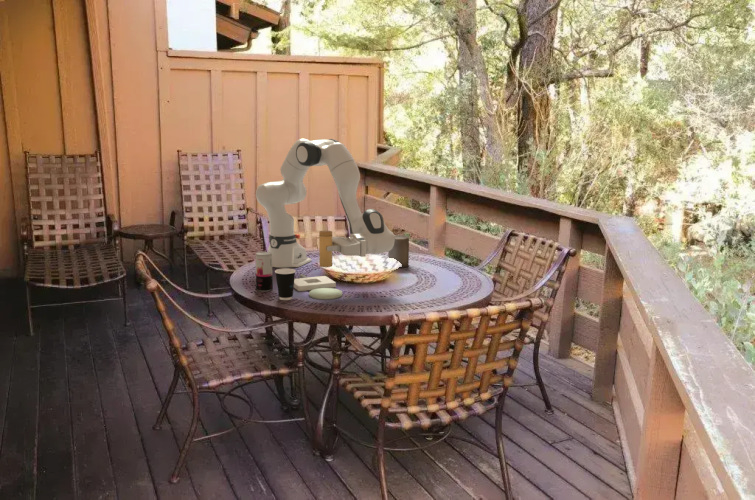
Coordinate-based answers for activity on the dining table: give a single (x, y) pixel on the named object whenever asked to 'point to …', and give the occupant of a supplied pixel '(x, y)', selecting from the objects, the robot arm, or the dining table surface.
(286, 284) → the dixie cup
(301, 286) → the socket block
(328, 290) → the mat
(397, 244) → the pillar candle
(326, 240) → the plug
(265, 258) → the beverage can
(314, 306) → the dining table surface
